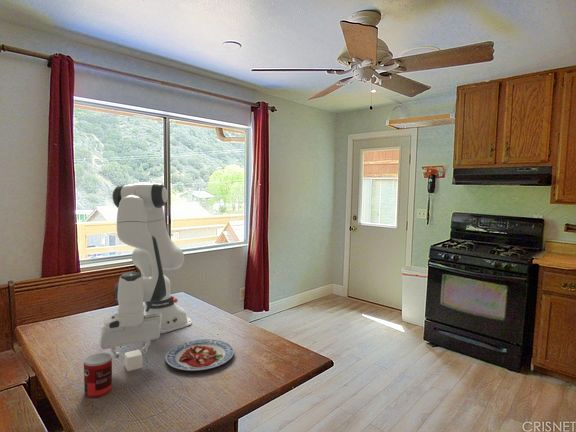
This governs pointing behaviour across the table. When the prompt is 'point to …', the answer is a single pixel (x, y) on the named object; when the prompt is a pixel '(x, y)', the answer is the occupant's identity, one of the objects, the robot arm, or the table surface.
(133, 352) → the cream block
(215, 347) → the ceramic plate
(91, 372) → the canned food
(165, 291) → the robot arm
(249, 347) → the table surface
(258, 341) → the table surface
